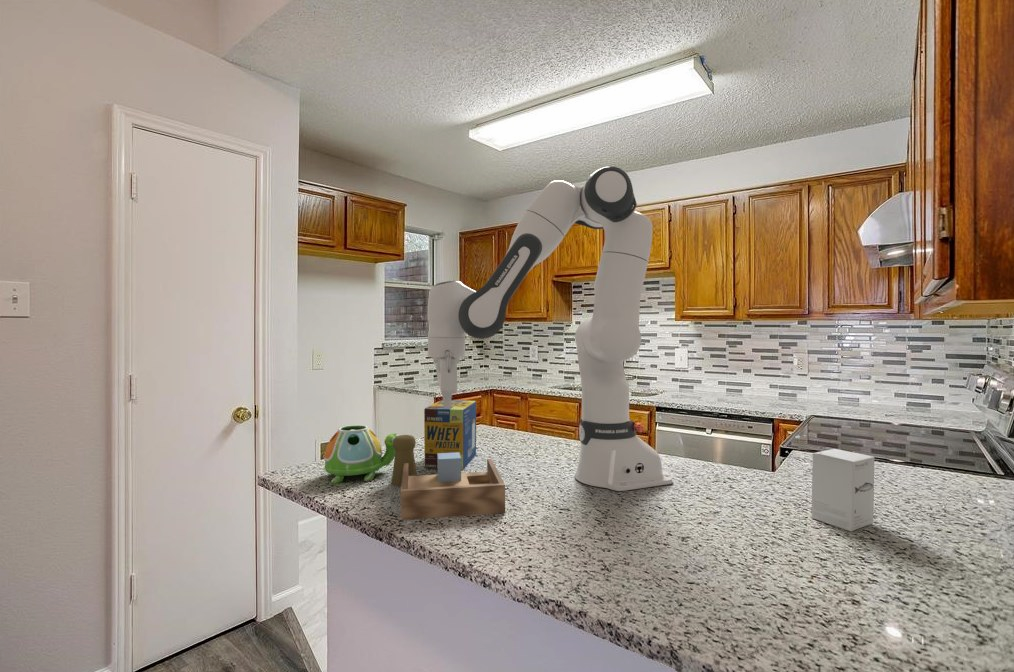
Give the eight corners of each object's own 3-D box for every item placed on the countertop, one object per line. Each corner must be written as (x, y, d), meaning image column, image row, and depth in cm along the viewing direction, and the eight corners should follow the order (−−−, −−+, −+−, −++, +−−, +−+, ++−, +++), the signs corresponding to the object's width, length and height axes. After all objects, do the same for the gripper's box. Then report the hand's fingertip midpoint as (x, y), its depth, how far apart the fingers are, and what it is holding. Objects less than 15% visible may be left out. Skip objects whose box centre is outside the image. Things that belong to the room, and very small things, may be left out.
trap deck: (491, 482, 115) (491, 458, 115) (505, 512, 96) (505, 484, 96) (404, 487, 111) (403, 463, 111) (400, 520, 93) (400, 491, 93)
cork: (420, 478, 118) (420, 433, 117) (413, 487, 112) (413, 439, 111) (396, 478, 118) (395, 432, 118) (387, 486, 112) (387, 438, 112)
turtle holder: (405, 477, 119) (404, 428, 119) (325, 487, 112) (324, 435, 112) (396, 464, 130) (395, 419, 130) (323, 472, 123) (322, 424, 123)
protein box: (423, 468, 126) (423, 408, 126) (441, 453, 141) (441, 399, 141) (463, 470, 124) (463, 409, 124) (477, 454, 139) (476, 400, 139)
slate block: (459, 473, 113) (459, 452, 113) (461, 480, 108) (461, 458, 108) (437, 475, 112) (437, 453, 112) (438, 482, 107) (438, 459, 107)
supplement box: (852, 532, 86) (853, 461, 86) (810, 518, 93) (810, 452, 93) (875, 524, 90) (876, 456, 90) (832, 511, 96) (833, 447, 96)
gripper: (463, 351, 107) (464, 414, 107) (456, 347, 127) (457, 400, 128) (434, 352, 106) (434, 415, 106) (432, 347, 126) (432, 401, 127)
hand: (447, 407), depth 117 cm, fingers closed
